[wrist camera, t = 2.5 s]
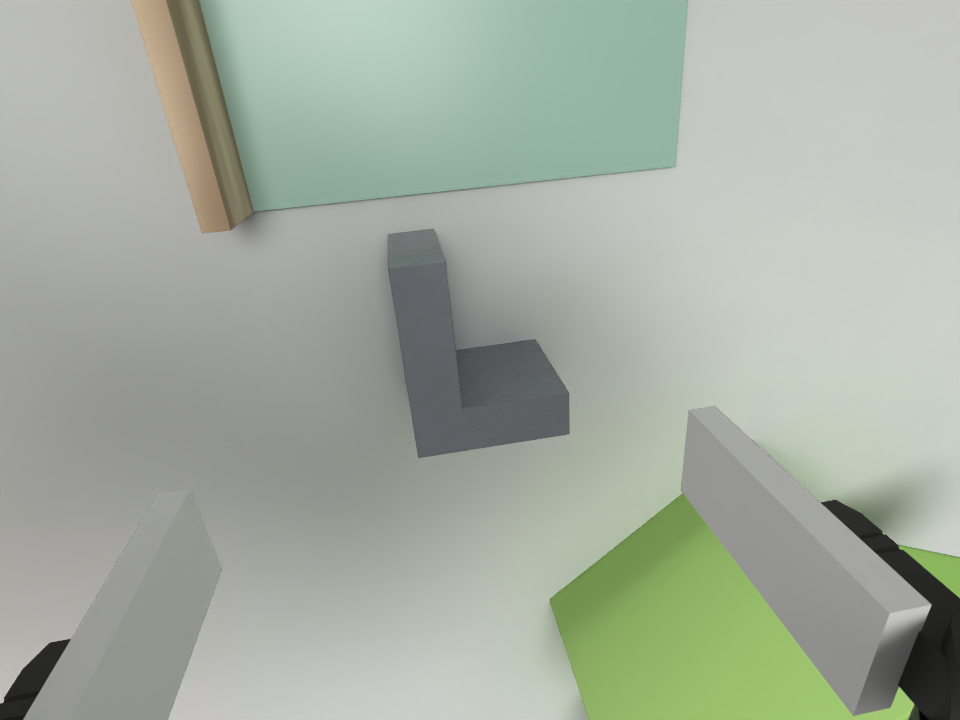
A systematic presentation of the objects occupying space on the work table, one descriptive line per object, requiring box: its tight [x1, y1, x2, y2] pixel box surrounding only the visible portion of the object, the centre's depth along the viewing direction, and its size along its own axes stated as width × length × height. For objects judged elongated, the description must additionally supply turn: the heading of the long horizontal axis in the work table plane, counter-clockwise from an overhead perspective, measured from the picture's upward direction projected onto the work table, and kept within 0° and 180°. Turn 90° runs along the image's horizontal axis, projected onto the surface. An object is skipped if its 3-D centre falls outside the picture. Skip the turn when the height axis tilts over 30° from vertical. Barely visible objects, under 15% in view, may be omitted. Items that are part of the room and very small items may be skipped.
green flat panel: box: [549, 493, 960, 720], centre depth 37 cm, size 24×35×22 cm
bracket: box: [388, 229, 569, 458], centre depth 29 cm, size 8×10×7 cm
